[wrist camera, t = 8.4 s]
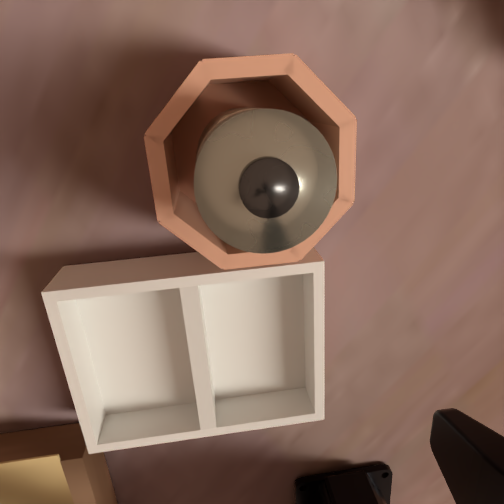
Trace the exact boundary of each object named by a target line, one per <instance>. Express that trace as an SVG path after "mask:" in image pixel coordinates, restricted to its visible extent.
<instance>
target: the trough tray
mask: <svg viewBox="0 0 504 504" xmlns="http://www.w3.org/2000/svg"><path fill="white" fill-rule="evenodd" d="M41 294H42V297H43V301H44V304H45V308H46V311H47V314H48V318H49V321H50V324H51V328H52V331H53V335H54V338H55V341H56V345H57V348H58V352H59V355H60V358H61V362H62V365H63V368H64V372H65V375H66V379H67V382H68V385H69V389H70V392H71V396H72V399H73V402H74V406H75V409H76V412H77V416H78V419H79V423H80V426H81V429H82V433H83V436H84V440H85V443H86V446H87V450H88V453H89V454H93V453H99V452H106V451H113V450H120V449H127V448H134V447H140V446H147V445H154V444H161V443H168V442H174V441H181V440H188V439H195V438H202V437H209V436H215V435H222V434H229V433H236V432H243V431H250V430H256V429H263V428H270V427H277V426H284V425H290V424H297V423H304V422H311V421H318V420H324V260H323V259H322V257H321V256H320V255H319V253H318V252H317V251H316V250H315V248H314V247H313V248H312V249H311V250H310V251H309V252H308V253H307V254H306V255H305V256H304V258H303V259H302V260H301V261H300V260H299V262H291V263H282V264H272V265H263V266H254V267H245V268H236V269H227V270H224V269H221V268H219V267H218V266H217V265H215V264H214V263H212V262H211V261H210V260H208V259H207V258H206V257H204V256H203V255H202V254H200V253H199V252H192V253H183V254H173V255H164V256H154V257H145V258H135V259H126V260H116V261H107V262H97V263H88V264H78V265H69V266H63V267H62V268H61V269H60V271H59V272H58V273H57V274H56V275H55V277H54V278H53V279H52V280H51V281H50V282H49V284H48V285H47V286H46V287H45V288H44V290H43V291H42V292H41Z"/></svg>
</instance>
